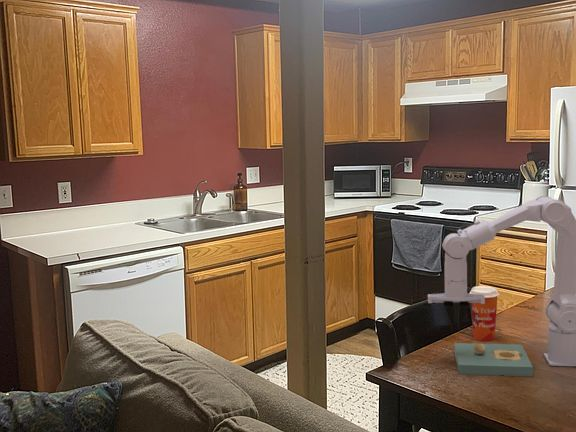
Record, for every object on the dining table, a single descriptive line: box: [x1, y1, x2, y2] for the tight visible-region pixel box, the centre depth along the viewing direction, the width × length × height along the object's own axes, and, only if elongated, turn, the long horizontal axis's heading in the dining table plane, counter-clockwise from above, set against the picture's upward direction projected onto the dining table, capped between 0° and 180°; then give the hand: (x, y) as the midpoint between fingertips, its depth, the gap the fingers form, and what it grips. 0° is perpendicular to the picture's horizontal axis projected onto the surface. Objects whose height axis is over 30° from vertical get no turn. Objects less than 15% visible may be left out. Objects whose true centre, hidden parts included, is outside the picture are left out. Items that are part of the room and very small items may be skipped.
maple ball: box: [474, 342, 485, 354], centre depth 164 cm, size 3×3×3 cm
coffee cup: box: [468, 285, 500, 342], centre depth 182 cm, size 8×8×15 cm
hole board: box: [453, 342, 534, 377], centre depth 164 cm, size 18×16×2 cm
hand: (456, 328), depth 165 cm, fingers closed
